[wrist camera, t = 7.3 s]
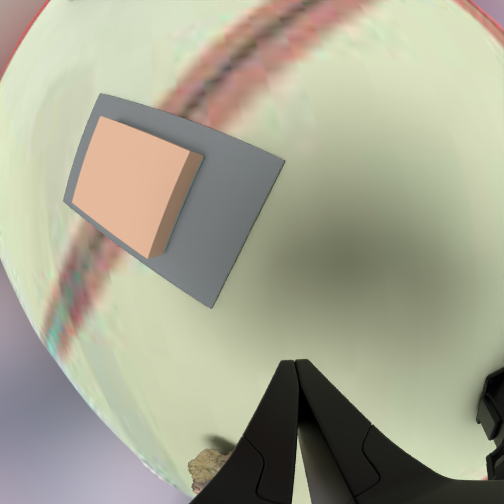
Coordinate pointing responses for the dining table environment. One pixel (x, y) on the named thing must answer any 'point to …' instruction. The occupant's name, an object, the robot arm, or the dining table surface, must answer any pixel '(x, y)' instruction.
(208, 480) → the rock
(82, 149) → the mat
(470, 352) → the dining table surface
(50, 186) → the dining table surface
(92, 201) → the block
